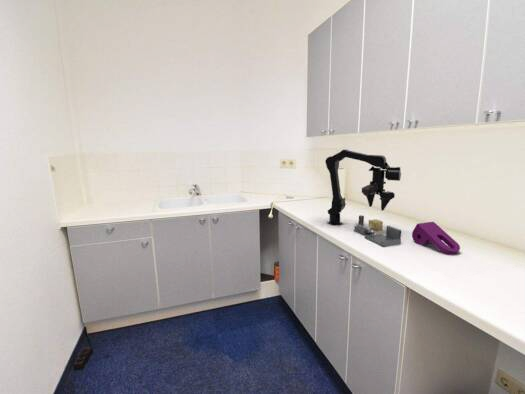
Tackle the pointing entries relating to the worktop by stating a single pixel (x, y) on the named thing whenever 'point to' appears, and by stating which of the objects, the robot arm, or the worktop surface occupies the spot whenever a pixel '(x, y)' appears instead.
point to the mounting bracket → (434, 237)
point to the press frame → (382, 236)
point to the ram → (361, 225)
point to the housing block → (376, 225)
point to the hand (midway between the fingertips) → (376, 208)
